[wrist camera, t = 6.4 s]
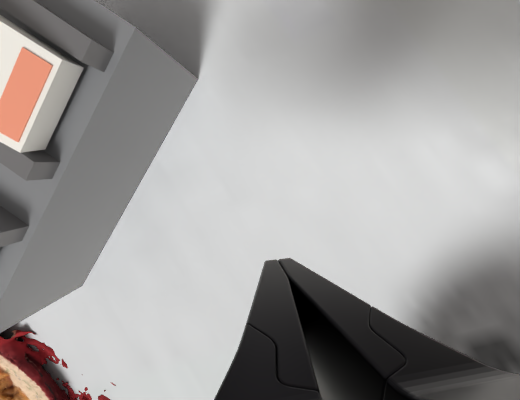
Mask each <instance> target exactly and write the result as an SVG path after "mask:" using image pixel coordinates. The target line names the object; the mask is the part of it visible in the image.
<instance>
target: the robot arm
mask: <svg viewBox="0 0 520 400" xmlns="http://www.w3.org/2000/svg"><path fill="white" fill-rule="evenodd" d="M214 400H520V374H514V373H509V372H506V371H502V370H499V369H496V368H493V367H490V366H488V365H485V364H483V363H481V362H479V361H477V360H475V359H473V358H471V357H469V356H467V355H465V354H463V353H461V352H458V351H456V350H454V349H452V348H450V347H448V346H446V345H444V344H442V343H440V342H438V341H436V340H434V339H432V338H430V337H428V336H426V335H424V334H422V333H420V332H418V331H416V330H414V329H412V328H410V327H408V326H406V325H404V324H403V323H401V322H399V321H397V320H395V319H394V318H392V317H390V316H388V315H386V314H385V313H383V312H381V311H379V310H378V309H376V308H374V307H371V306H370V305H369V304H367V303H366V302H364V301H362V300H361V299H359V298H357V297H356V296H354V295H352V294H350V293H349V292H347V291H345V290H344V289H342V288H340V287H339V286H337V285H335V284H333V283H332V282H330V281H328V280H327V279H325V278H323V277H322V276H320V275H318V274H316V273H315V272H313V271H311V270H310V269H308V268H306V267H305V266H303V265H301V264H299V263H298V262H296V261H294V260H293V259H291V258H286V259H279V260H268V261H265V263H264V266H263V270H262V273H261V276H260V280H259V283H258V286H257V290H256V293H255V296H254V300H253V303H252V306H251V310H250V313H249V316H248V320H247V323H246V326H245V329H244V333H243V336H242V339H241V341H240V344H239V347H238V350H237V352H236V355H235V357H234V359H233V361H232V364H231V366H230V368H229V370H228V372H227V374H226V376H225V378H224V380H223V382H222V384H221V386H220V389H219V391H218V393H217V395H216V397H215V399H214Z"/></svg>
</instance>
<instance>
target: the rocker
mask: <svg viewBox="0 0 520 400" xmlns="http://www.w3.org/2000/svg"><path fill="white" fill-rule="evenodd" d="M83 68H84V67H82V66H80V65H79V64H77V63H76V62H74V61H73V60H71V59H69V58H68V57H66V56H65V55H63V54H61V53H60V52H58V51H57V50H55V49H54V48H52V47H50V46H49V45H47V44H46V43H44V42H42V41H41V40H39V39H38V38H36V37H35V36H33V35H31V34H30V33H28V32H27V31H25V30H23V29H22V28H20V27H19V26H17V25H16V24H14V23H12V22H11V21H9V20H8V19H6V18H4V17H3V16H1V15H0V142H1V143H3V144H5V145H7V146H9V147H11V148H12V149H14V150H16V151H18V152H20V153H22V152H29V151H37V150H45V149H46V147H47V145H48V143H49V141H50V138H51V136H52V134H53V132H54V130H55V128H56V126H57V124H58V121H59V119H60V117H61V115H62V113H63V111H64V109H65V107H66V105H67V102H68V100H69V98H70V96H71V94H72V92H73V90H74V88H75V85H76V83H77V81H78V79H79V77H80V75H81V73H82V71H83Z"/></svg>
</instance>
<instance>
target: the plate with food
mask: <svg viewBox="0 0 520 400" xmlns="http://www.w3.org/2000/svg"><path fill="white" fill-rule="evenodd" d="M12 333H13V335H12V336H11V339H4V338H2V337H0V400H77V399H76V398H78V397H79V399H80V400H92V398H91V396H90V394H87V395H86V393H87V392H84V393H82V392H80V391H79V392H80V393H81V395H79V394H75V393H74V391H73V390H72V388H70V386H69V385H68V382H67V383H64V381H62V382H63V386H64V387H65V388H67V389H68V395H67V394H66V393H65V390H62V389H60V387H59V386H58V385H57V383H56V382H55V381H54V380H53V379H52V377H51V375H50V374H49V373H48V372H47V371H46V370H45V369H44V368H43V366H42V365H43V364H47V361H46V358H48V359H49V360H50V361H52V362H54V363H56V364H58V363H59V361H60V360H59V359H58V358H57V357H56V355H55V353H54V351H53V349H52V348H50V347H48V346H46V345H45V343H41V342H39V341H37V340H35V339H30V338H27V337H26V336H23V335H26V334H28V333H32V332H23V331H20V330H13V331H12ZM33 334H34V333H33ZM18 338H22V339H23V340H24V341H23V342H20V341H17V339H18ZM27 344H30V345H34V346H36V347H37V349H38V350H39V351H38V352H37V351H33V349H32V348H29V346H28V345H27ZM43 349H44V350H43ZM48 356H50V358H49V357H48ZM52 356H53V357H55V360H56V361H55V360H53V358H52ZM62 365H63V367H66V368H68V367H67V364H66V363H65V362H64V361H63V359H62ZM57 380H59V378H57ZM112 384H113V383H112ZM113 385H114V384H113ZM115 386H116V385H115ZM87 390H88V388H87V387H86V388H85V391H87ZM105 391H106V390H104V392H105ZM68 396H69V397H68ZM98 400H110V399H109V398H107V397H105V396H104V395H101V396H98Z"/></svg>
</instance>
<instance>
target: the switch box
mask: <svg viewBox="0 0 520 400" xmlns="http://www.w3.org/2000/svg"><path fill="white" fill-rule="evenodd" d="M0 15H1V16H3V17H4V18H6V19H8V20H9V21H11V22H12V23H14V24H16V25H17V26H19V27H20V28H22V29H23V30H25V31H27V32H28V33H30V34H31V35H33V36H35V37H36V38H38V39H39V40H41V41H42V42H44V43H46V44H47V45H49V46H50V47H52V48H54V49H55V50H57V51H58V52H60V53H61V54H63V55H65V56H66V57H68V58H69V59H71V60H73V61H74V62H76V63H77V64H79V65H80V66H82V67H84V68H83V71H82V73H81V75H80V77H79V79H78V81H77V83H76V85H75V88H74V90H73V92H72V94H71V96H70V98H69V100H68V102H67V105H66V107H65V109H64V111H63V113H62V115H61V117H60V119H59V121H58V124H57V126H56V128H55V130H54V132H53V134H52V136H51V138H50V141H49V143H48V145H47V147H46V149H45V150H37V151H29V152H22V153H20V152H18V151H16V150H14V149H12V148H11V147H9V146H7V145H5V144H3V143H1V142H0V333H1V332H3V331H5V330H6V329H8V328H10V327H12V326H13V325H15V324H17V323H19V322H20V321H22V320H24V319H25V318H27V317H29V316H31V315H32V314H34V313H36V312H38V311H39V310H41V309H43V308H45V307H46V306H48V305H50V304H51V303H53V302H55V301H57V300H58V299H60V298H62V297H64V296H65V295H67V294H69V293H70V292H72V291H74V290H76V289H77V288H79V287H81V286H82V285H83V283H84V281H85V280H86V278H87V276H88V274H89V273H90V271H91V269H92V267H93V265H94V264H95V262H96V260H97V258H98V256H99V255H100V253H101V251H102V249H103V248H104V246H105V244H106V242H107V240H108V239H109V237H110V235H111V233H112V232H113V230H114V228H115V226H116V224H117V223H118V221H119V219H120V217H121V215H122V214H123V212H124V210H125V208H126V207H127V205H128V203H129V201H130V199H131V198H132V196H133V194H134V192H135V190H136V189H137V187H138V185H139V183H140V182H141V180H142V178H143V176H144V174H145V173H146V171H147V169H148V167H149V166H150V164H151V162H152V160H153V158H154V157H155V155H156V153H157V151H158V149H159V148H160V146H161V144H162V142H163V141H164V139H165V137H166V135H167V133H168V132H169V130H170V128H171V126H172V125H173V123H174V121H175V119H176V117H177V116H178V114H179V112H180V110H181V108H182V107H183V105H184V103H185V101H186V100H187V98H188V96H189V94H190V92H191V91H192V89H193V87H194V85H195V84H196V82H197V80H198V78H196V77H195V76H194V75H193V74H192V73H190V72H189V71H188V70H187V69H186V68H184V67H183V66H182V65H181V64H180V63H178V62H177V61H176V60H175V59H174V58H172V57H171V56H170V55H169V54H168V53H166V52H165V51H164V50H163V49H162V48H160V47H159V46H158V45H157V44H156V43H154V42H153V41H152V40H151V39H149V38H148V37H147V36H146V35H145V34H143V33H142V32H141V31H140V30H139V29H137V28H136V27H135V26H133V25H132V24H130V23H129V22H127V21H126V20H124V19H123V18H121V17H120V16H118V15H117V14H115V13H114V12H112V11H111V10H109V9H108V8H106V7H105V6H103V5H102V4H100V3H99V2H97V1H96V0H0Z"/></svg>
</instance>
